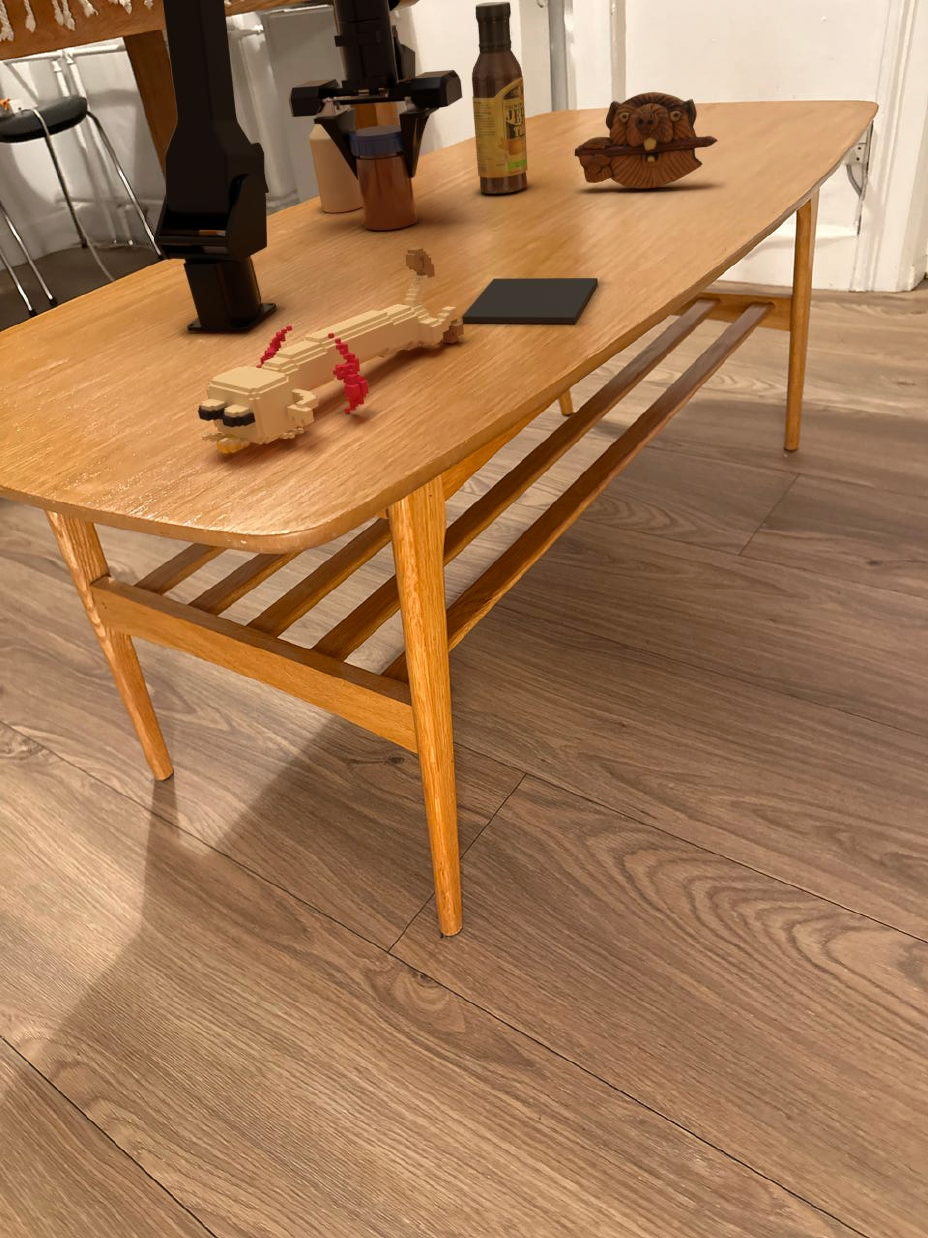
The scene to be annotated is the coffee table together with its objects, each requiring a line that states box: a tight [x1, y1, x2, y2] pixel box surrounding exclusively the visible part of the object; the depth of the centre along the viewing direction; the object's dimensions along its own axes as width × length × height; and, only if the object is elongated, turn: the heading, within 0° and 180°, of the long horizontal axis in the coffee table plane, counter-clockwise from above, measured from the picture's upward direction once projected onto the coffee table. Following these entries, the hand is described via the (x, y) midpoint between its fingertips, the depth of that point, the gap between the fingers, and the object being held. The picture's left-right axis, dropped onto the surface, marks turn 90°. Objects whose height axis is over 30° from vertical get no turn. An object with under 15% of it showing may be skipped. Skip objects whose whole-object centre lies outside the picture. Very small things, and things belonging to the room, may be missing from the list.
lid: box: [349, 124, 404, 156], centre depth 104 cm, size 7×7×2 cm
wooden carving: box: [574, 91, 719, 189], centre depth 107 cm, size 16×5×10 cm, turn 76°
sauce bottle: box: [471, 1, 529, 194], centre depth 111 cm, size 6×6×20 cm
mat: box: [461, 277, 599, 325], centre depth 82 cm, size 10×10×1 cm
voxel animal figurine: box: [197, 246, 465, 455], centre depth 68 cm, size 10×9×25 cm
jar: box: [355, 151, 418, 231], centre depth 106 cm, size 6×6×9 cm
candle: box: [308, 124, 362, 213], centre depth 115 cm, size 6×6×10 cm
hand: (386, 178), depth 106 cm, fingers closed on jar, lid, 6 cm apart
